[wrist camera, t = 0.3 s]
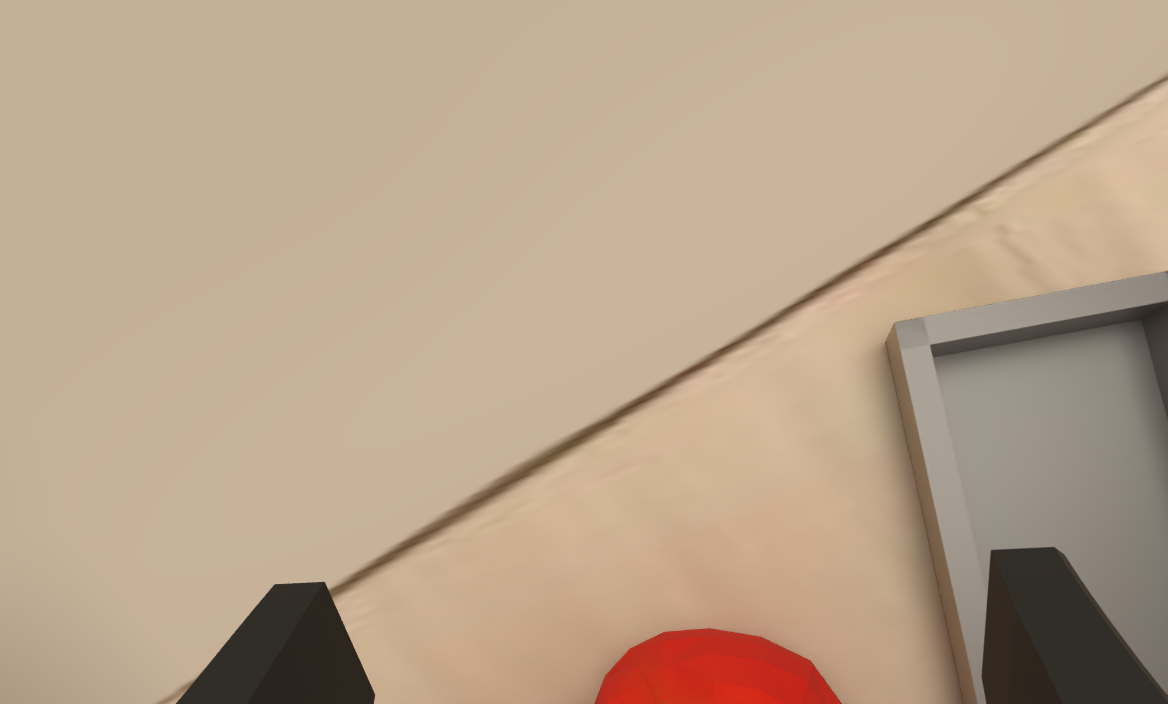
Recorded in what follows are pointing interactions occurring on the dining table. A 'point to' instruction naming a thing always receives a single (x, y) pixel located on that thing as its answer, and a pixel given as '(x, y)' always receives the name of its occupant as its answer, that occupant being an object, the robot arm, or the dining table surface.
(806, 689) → the tomato
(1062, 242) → the dining table surface
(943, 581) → the box
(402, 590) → the dining table surface
